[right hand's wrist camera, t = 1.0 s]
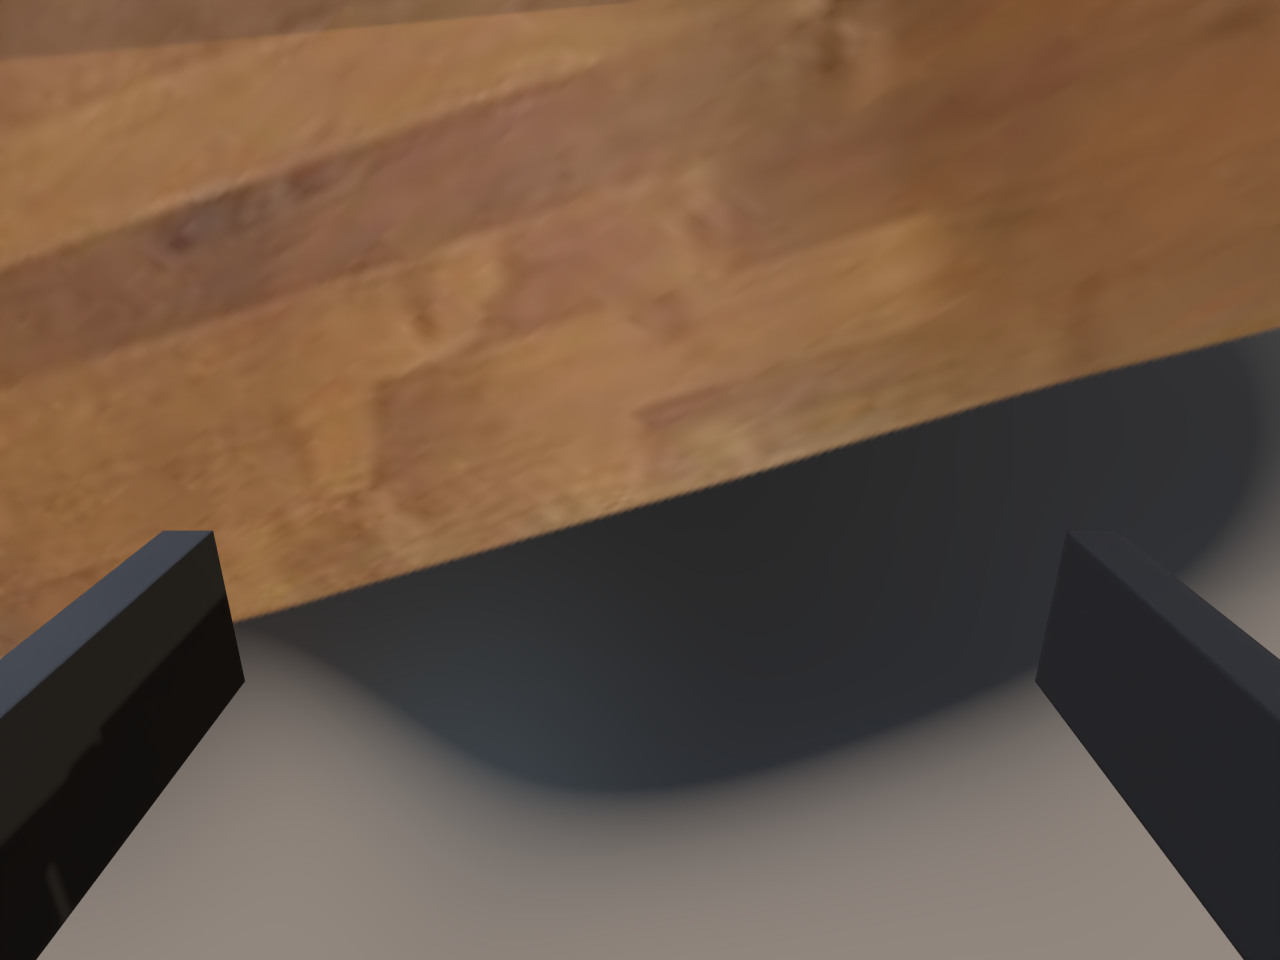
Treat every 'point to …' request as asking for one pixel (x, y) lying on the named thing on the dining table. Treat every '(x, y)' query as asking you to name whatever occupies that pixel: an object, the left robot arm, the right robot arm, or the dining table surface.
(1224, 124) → the dining table surface
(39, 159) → the dining table surface
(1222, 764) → the right robot arm
